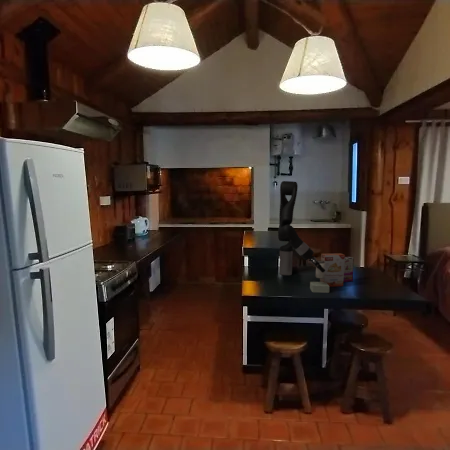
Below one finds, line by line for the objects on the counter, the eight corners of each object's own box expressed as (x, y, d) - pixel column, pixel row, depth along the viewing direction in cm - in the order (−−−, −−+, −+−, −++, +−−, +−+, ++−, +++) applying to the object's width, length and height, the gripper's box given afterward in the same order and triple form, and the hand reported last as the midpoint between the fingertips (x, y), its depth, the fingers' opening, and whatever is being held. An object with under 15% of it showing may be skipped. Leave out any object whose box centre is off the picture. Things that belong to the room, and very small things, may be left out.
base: (309, 287, 244) (310, 281, 244) (325, 288, 244) (326, 282, 243) (312, 292, 235) (312, 285, 234) (329, 292, 234) (329, 286, 233)
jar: (314, 276, 241) (315, 260, 240) (323, 276, 241) (324, 260, 240) (316, 277, 236) (316, 261, 235) (324, 278, 235) (325, 262, 234)
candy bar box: (348, 279, 267) (349, 256, 265) (353, 281, 262) (354, 257, 261) (334, 281, 263) (335, 257, 261) (339, 282, 258) (340, 258, 257)
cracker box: (323, 287, 246) (324, 255, 244) (319, 285, 252) (320, 253, 250) (343, 286, 249) (345, 254, 247) (339, 284, 255) (340, 252, 253)
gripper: (310, 248, 230) (330, 268, 230) (307, 244, 244) (325, 264, 244) (301, 257, 231) (320, 277, 231) (298, 253, 245) (316, 272, 245)
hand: (323, 270), depth 238 cm, fingers closed on jar, 5 cm apart
